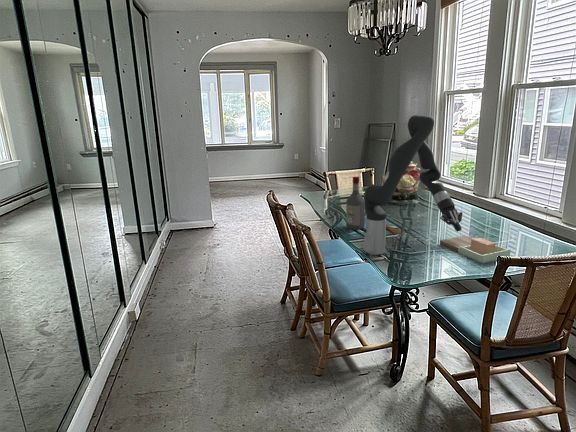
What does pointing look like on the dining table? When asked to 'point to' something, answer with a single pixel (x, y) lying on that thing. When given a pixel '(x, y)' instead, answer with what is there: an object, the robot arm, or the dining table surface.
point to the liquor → (355, 208)
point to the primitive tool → (393, 230)
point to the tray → (483, 258)
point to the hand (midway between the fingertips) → (459, 230)
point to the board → (456, 242)
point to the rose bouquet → (406, 186)
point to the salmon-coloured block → (482, 246)
